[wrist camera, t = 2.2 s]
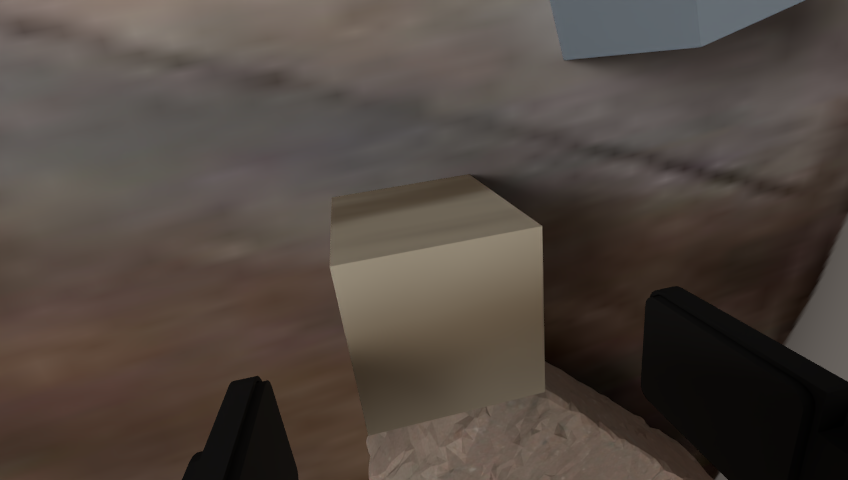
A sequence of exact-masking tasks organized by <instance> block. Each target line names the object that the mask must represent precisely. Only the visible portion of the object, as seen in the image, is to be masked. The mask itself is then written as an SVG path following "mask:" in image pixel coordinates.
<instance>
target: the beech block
mask: <svg viewBox="0 0 848 480" xmlns="http://www.w3.org/2000/svg"><path fill="white" fill-rule="evenodd" d="M330 270H331V274H332V279H333V283H334V287H335V292H336V296H337V301H338V305H339V309H340V314H341V318H342V322H343V327H344V331H345V335H346V340H347V344H348V349H349V353H350V357H351V362H352V366H353V370H354V375H355V379H356V383H357V388H358V392H359V397H360V401H361V405H362V410H363V414H364V418H365V423H366V427H367V432H368V436H370V435H374V434H378V433H382V432H386V431H390V430H394V429H398V428H402V427H406V426H410V425H414V424H418V423H422V422H426V421H430V420H434V419H438V418H442V417H446V416H450V415H455V414H459V413H463V412H467V411H471V410H475V409H479V408H483V407H487V406H491V405H495V404H499V403H503V402H507V401H511V400H515V399H519V398H523V397H527V396H531V395H535V394H539V393H543V392H545V356H544V299H543V241H542V226H541V225H540V224H539V223H537V222H536V221H534V220H533V219H532V218H530V217H529V216H527V215H526V214H524V213H523V212H522V211H520V210H519V209H517V208H516V207H515V206H513V205H512V204H510V203H509V202H507V201H506V200H505V199H503V198H502V197H500V196H499V195H498V194H496V193H495V192H493V191H492V190H490V189H489V188H488V187H486V186H485V185H483V184H482V183H481V182H479V181H478V180H476V179H475V178H473V177H472V176H471V175H469V174H468V175H462V176H456V177H450V178H444V179H438V180H432V181H427V182H421V183H415V184H409V185H403V186H397V187H391V188H385V189H379V190H373V191H368V192H362V193H356V194H350V195H344V196H338V197H332V212H331V243H330Z"/></svg>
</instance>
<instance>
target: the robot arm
mask: <svg viewBox="0 0 848 480" xmlns="http://www.w3.org/2000/svg"><path fill="white" fill-rule="evenodd" d="M641 388H642V391H643V394H644V395H645V397H646V398H647V399H648V401H649V402H650V403H651V404H652V405H653V406H654V407H655V408H656V409H658V410H659V411H660V412H661V413H662V414H663V415H664V416H665V417H666V418H667V419H668V420H669V421H670V422H671V423H672V424H673V425H674V426H675V427H676V428H677V429H678V430H679V431H680V432H681V433H682V434H683V435H684V436H685V437H686V438H687V439H688V440H689V441H690V442H691V443H692V444H693V445H694V446H695V447H696V448H697V449H698V450H699V451H700V452H701V453H702V454H703V455H704V456H705V457H706V458H707V459H708V460H709V461H710V462H711V463H712V464H713V465H714V466H715V467H716V468H717V469H718V470H719V471H720V472H721V473H722V474H723V475H724V476H725V477H726V478H727V479H728V480H848V382H847V381H845V380H844V379H842V378H840V377H838V376H837V375H835V374H833V373H831V372H829V371H828V370H826V369H824V368H822V367H821V366H819V365H817V364H815V363H814V362H812V361H810V360H808V359H806V358H805V357H803V356H801V355H799V354H797V353H796V352H794V351H792V350H790V349H789V348H787V347H785V346H783V345H782V344H780V343H778V342H776V341H775V340H773V339H771V338H769V337H768V336H766V335H764V334H762V333H760V332H759V331H757V330H755V329H753V328H752V327H750V326H748V325H746V324H745V323H743V322H741V321H739V320H737V319H736V318H734V317H732V316H730V315H729V314H727V313H725V312H723V311H722V310H720V309H718V308H716V307H714V306H713V305H711V304H709V303H707V302H706V301H704V300H702V299H700V298H699V297H697V296H695V295H693V294H691V293H690V292H688V291H686V290H684V289H683V288H681V287H678V286H675V287H669V288H665V289H660V290H655V291H654V292H652V294H651V295H650V298H648V299H647V301H646V306H645V323H644V340H643V356H642V373H641ZM182 480H298V471H297V467H296V464H295V461H294V457H293V454H292V451H291V448H290V444H289V441H288V438H287V435H286V431H285V428H284V425H283V422H282V418H281V415H280V412H279V409H278V406H277V402H276V399H275V396H274V393H273V389H272V386H271V384H270V382H269V381H268V380H267V381H263V382H262V380H261V379H260V377H259V376H255V377H250V378H246V379H241V380H236V381H233V382H231V383H230V385H229V387H228V390H227V392H226V395H225V397H224V400H223V402H222V405H221V407H220V410H219V412H218V415H217V417H216V420H215V423H214V425H213V428H212V430H211V433H210V435H209V438H208V440H207V443H206V445H205V448H204V450H203V451H202V452H198V453H196V454H195V455H194V456H193V457H192V459H191V460H190V462H189V464H188V467H187V469H186V471H185V474H184V476H183V479H182Z"/></svg>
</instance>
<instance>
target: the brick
mask: <svg viewBox="0 0 848 480" xmlns="http://www.w3.org/2000/svg"><path fill="white" fill-rule="evenodd" d="M366 444H367V447H368V451H369V454H370V461H369V480H713V478H711V477H710V476H709V475H708V474H707V473H706V471H705V470H704V469H703V468H702V466H701V465H700V464H699V463H698V461H697V460H696V459H695V458H694V457H693V456H692V455H691V454H690V453H689V452H688V451H687V450H686V449H685V448H684V447H683V446H682V445H681V444H680V443H678V442H677V441H676V440H674V439H672V438H670V437H669V436H667V435H666V434H664V433H663V432H661V431H660V430H659V429H655V428H650V427H649V426H648V425H647V424H646V423H645V420H644V419H643V418H642V417H640V416H637V415H634V414H632V413H631V412H629V411H627V410H626V409H624V408H622V407H621V406H619V405H618V404H616V403H614V402H613V401H611V400H610V399H609V398H608V397H606V396H604V395H601V394H599V393H598V392H596V391H595V390H594V389H592V388H591V387H588V386H586V385H585V384H583V383H581V382H579V381H577V380H576V379H574V378H573V377H571V376H570V375H568V374H567V373H565V372H564V371H563V370H561V369H559V368H557V367H555V366H553V365H551V364H549V363H547V362H546V361H545V392H543V393H539V394H535V395H531V396H527V397H523V398H519V399H515V400H511V401H507V402H503V403H499V404H495V405H491V406H487V407H483V408H479V409H475V410H471V411H467V412H463V413H459V414H455V415H450V416H446V417H442V418H438V419H434V420H430V421H426V422H422V423H418V424H414V425H410V426H406V427H402V428H398V429H394V430H390V431H386V432H382V433H378V434H374V435H370V436H368V437H367V440H366Z"/></svg>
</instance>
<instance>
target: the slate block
mask: <svg viewBox="0 0 848 480" xmlns="http://www.w3.org/2000/svg"><path fill="white" fill-rule="evenodd" d="M802 1H805V0H550V3H551V7H552V12H553V16H554V20H555V24H556V29H557V33H558V37H559V42H560V46H561V50H562V54H563V59H564V60H571V59H582V58H592V57H603V56H613V55H624V54H634V53H645V52H655V51H665V50H676V49H686V48H697V47H702V46H705V45H707V44H709V43H711V42H714V41H716V40H718V39H720V38H722V37H725V36H727V35H729V34H731V33H734V32H736V31H738V30H740V29H742V28H745V27H747V26H749V25H751V24H754V23H756V22H758V21H760V20H762V19H765V18H767V17H769V16H771V15H774V14H776V13H778V12H780V11H782V10H785V9H787V8H789V7H791V6H794V5H796V4H798V3H800V2H802Z"/></svg>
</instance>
